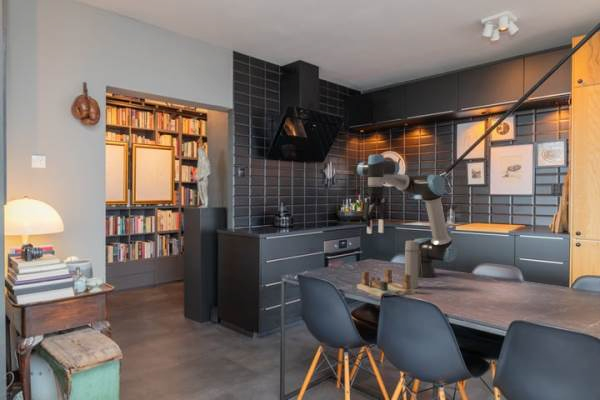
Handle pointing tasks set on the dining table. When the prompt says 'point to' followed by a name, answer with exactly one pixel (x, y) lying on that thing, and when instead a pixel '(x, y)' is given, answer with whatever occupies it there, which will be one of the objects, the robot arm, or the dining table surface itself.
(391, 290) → the socket pad
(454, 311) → the dining table surface
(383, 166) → the robot arm
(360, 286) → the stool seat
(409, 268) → the water bottle
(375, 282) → the keeper leg
